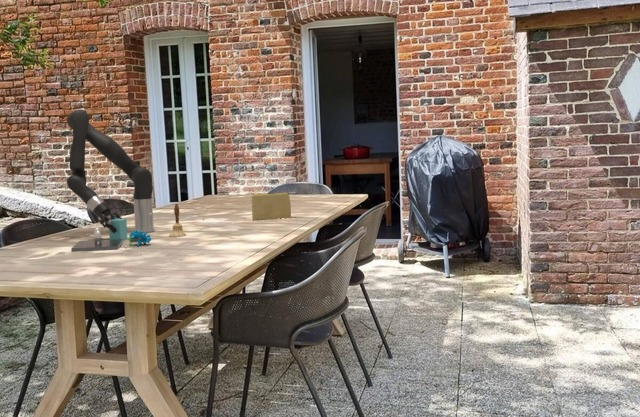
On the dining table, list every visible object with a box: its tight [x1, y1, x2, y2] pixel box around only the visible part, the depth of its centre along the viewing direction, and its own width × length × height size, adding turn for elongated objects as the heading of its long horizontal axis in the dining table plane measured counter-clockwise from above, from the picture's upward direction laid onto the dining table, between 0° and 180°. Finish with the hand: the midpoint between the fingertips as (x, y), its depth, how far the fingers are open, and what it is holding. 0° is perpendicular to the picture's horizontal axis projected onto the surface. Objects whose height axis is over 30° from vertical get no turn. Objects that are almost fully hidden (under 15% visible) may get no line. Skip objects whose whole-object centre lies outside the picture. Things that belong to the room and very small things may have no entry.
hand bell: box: [169, 203, 187, 238], centre depth 351 cm, size 8×8×16 cm
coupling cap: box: [108, 218, 128, 241], centre depth 341 cm, size 6×6×10 cm
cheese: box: [251, 192, 292, 221], centre depth 405 cm, size 22×10×15 cm, turn 94°
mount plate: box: [70, 227, 124, 252], centre depth 323 cm, size 20×20×9 cm
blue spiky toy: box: [127, 229, 152, 247], centre depth 325 cm, size 11×6×10 cm
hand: (120, 230), depth 341 cm, fingers open, 8 cm apart
